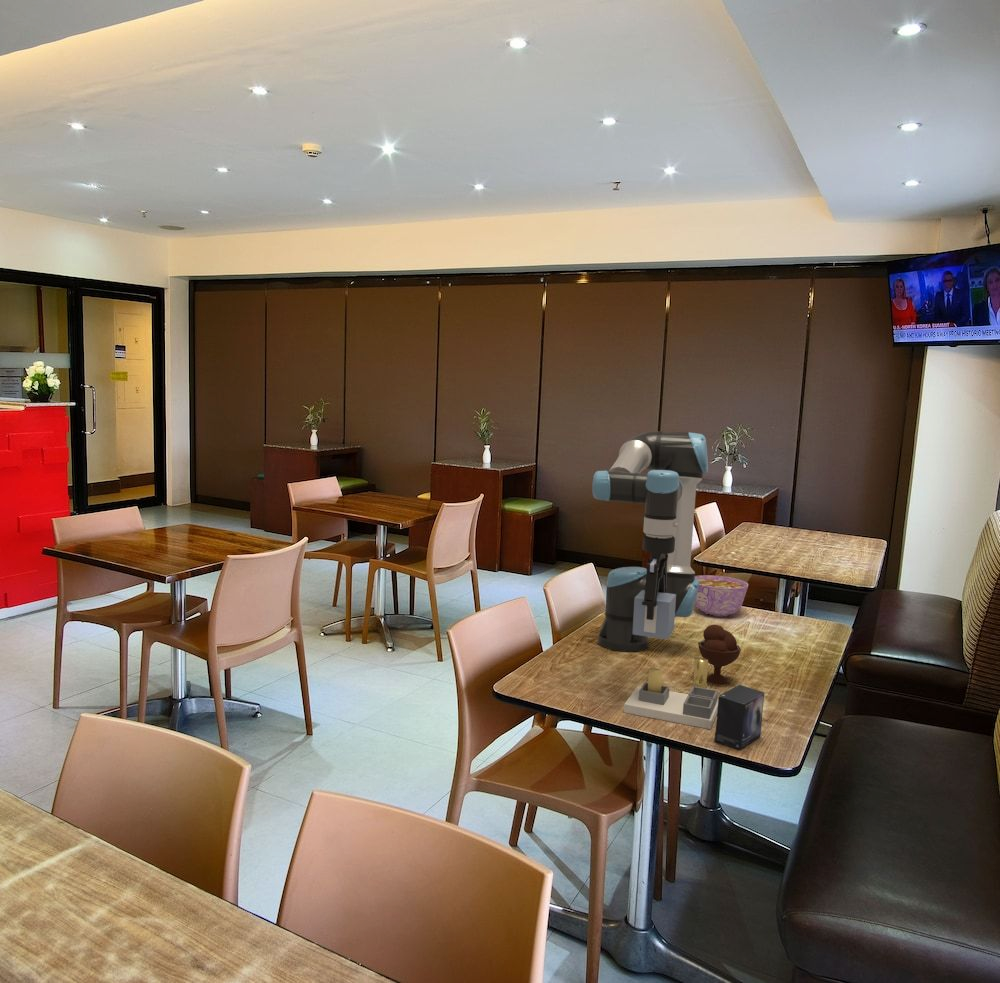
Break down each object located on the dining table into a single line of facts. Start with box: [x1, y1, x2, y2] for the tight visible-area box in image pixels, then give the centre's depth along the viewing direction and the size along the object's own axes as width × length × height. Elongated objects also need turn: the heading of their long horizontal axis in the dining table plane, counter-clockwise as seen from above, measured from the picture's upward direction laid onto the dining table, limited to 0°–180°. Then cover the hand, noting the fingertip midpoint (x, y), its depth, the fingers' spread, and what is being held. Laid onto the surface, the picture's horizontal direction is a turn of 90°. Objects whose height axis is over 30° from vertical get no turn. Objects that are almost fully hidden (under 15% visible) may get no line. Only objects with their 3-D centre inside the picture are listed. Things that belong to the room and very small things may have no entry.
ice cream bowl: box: [697, 624, 742, 685], centre depth 208 cm, size 11×11×15 cm
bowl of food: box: [695, 574, 749, 618], centre depth 277 cm, size 20×20×12 cm
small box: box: [713, 684, 765, 750], centre depth 172 cm, size 11×6×10 cm, turn 138°
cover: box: [633, 590, 676, 640], centre depth 191 cm, size 8×8×9 cm
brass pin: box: [692, 656, 709, 689], centre depth 195 cm, size 3×3×10 cm
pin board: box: [623, 667, 719, 730], centre depth 187 cm, size 20×14×9 cm
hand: (653, 626), depth 191 cm, fingers closed on cover, 8 cm apart
